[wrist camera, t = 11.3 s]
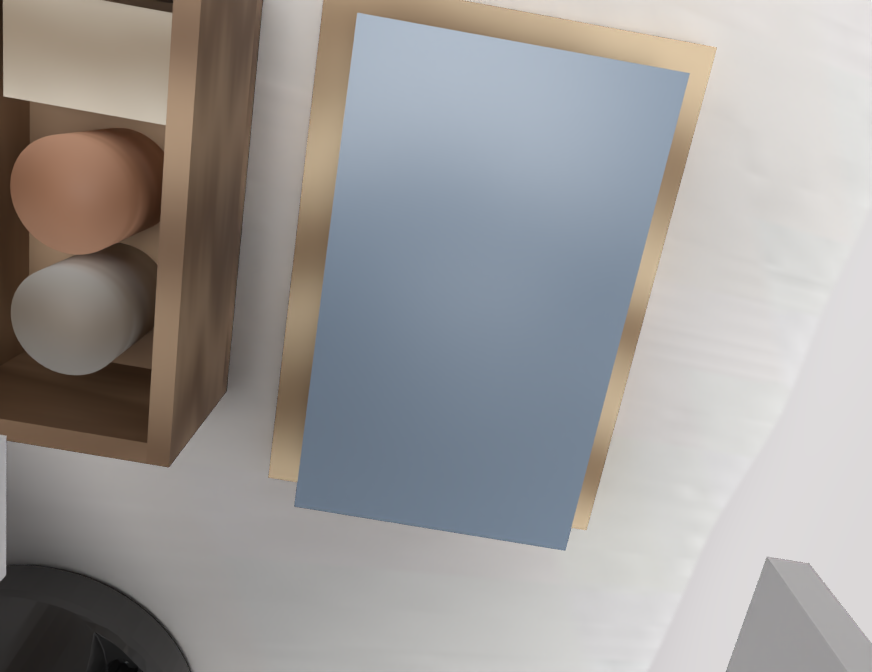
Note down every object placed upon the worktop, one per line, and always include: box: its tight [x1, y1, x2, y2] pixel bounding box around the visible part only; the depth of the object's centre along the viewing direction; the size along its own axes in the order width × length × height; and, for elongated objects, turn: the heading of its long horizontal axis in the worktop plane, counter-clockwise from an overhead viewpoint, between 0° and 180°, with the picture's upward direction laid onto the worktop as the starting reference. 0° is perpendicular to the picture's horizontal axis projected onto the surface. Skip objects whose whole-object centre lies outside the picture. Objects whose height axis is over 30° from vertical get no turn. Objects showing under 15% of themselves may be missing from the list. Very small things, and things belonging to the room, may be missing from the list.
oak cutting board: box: [268, 0, 717, 530], centre depth 31 cm, size 20×14×2 cm
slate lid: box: [294, 13, 690, 550], centre depth 28 cm, size 17×10×4 cm, turn 170°
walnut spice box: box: [0, 0, 263, 467], centre depth 27 cm, size 16×9×7 cm, turn 170°
